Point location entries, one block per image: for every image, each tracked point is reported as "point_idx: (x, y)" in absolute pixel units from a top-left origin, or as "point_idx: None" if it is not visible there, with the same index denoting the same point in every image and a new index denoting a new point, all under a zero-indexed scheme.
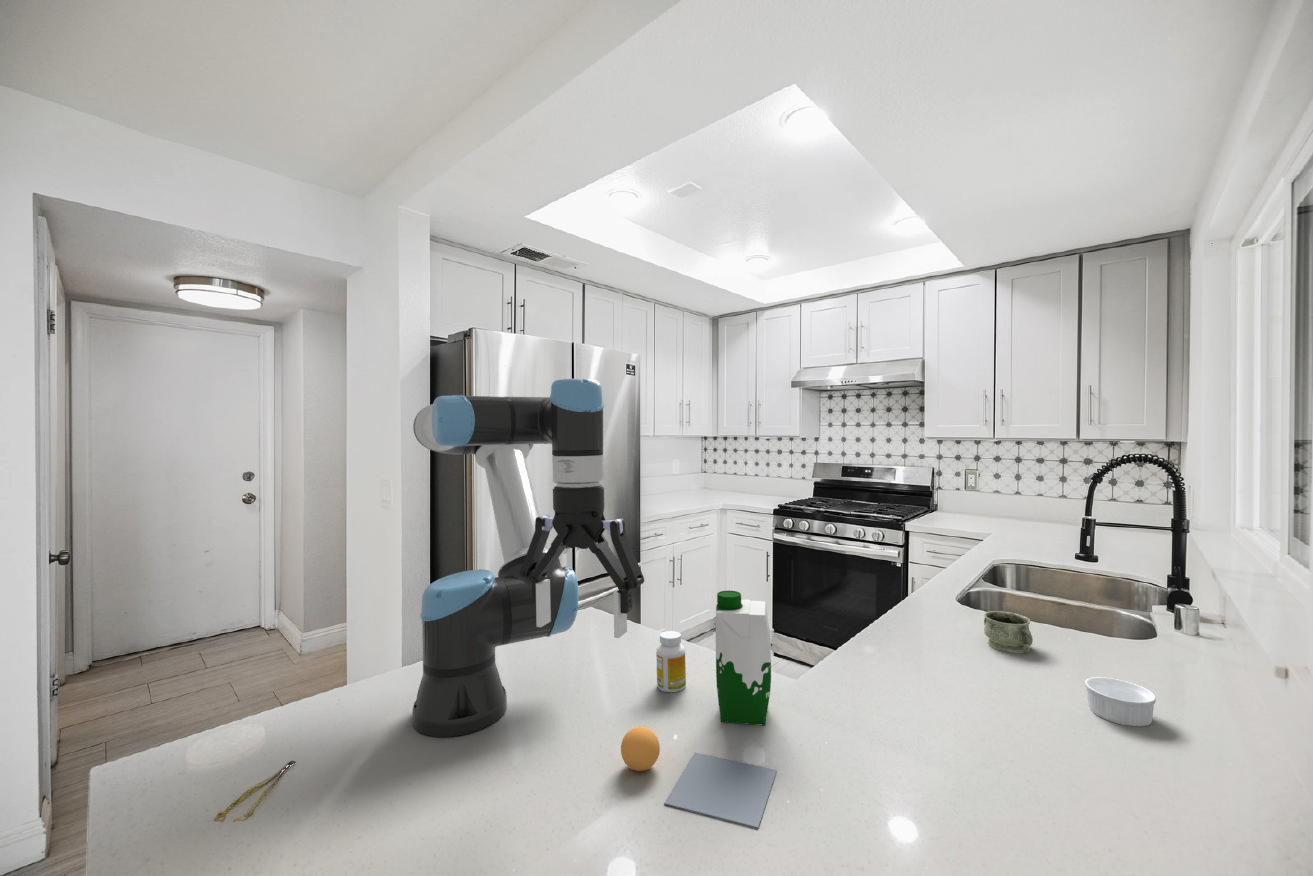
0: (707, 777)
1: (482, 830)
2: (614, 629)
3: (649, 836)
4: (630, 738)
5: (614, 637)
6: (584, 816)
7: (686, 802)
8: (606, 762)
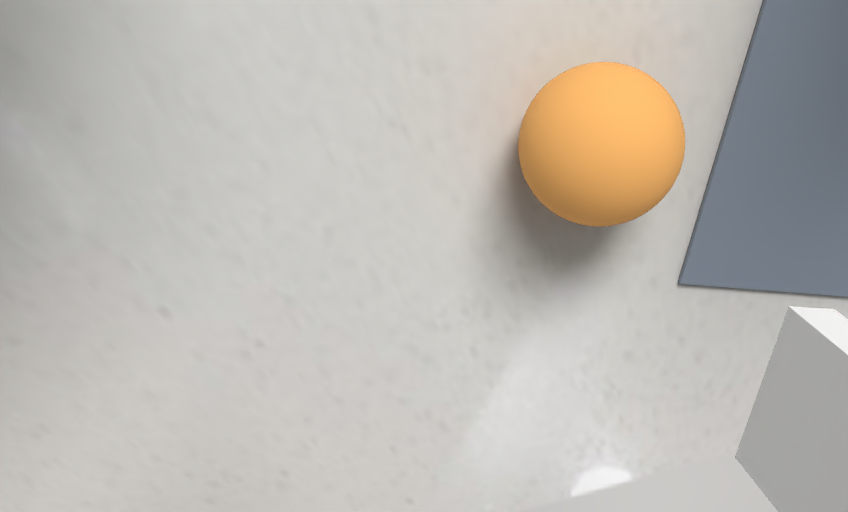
0: (813, 130)
1: (201, 503)
2: (780, 508)
3: (651, 397)
4: (590, 210)
5: (739, 460)
6: (458, 384)
7: (745, 265)
8: (435, 122)
